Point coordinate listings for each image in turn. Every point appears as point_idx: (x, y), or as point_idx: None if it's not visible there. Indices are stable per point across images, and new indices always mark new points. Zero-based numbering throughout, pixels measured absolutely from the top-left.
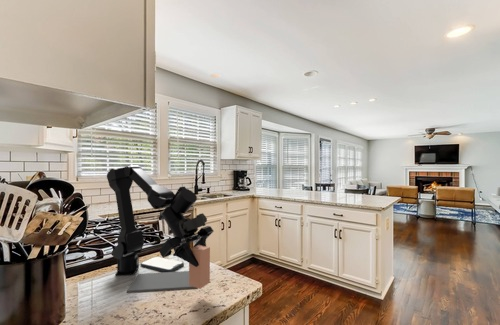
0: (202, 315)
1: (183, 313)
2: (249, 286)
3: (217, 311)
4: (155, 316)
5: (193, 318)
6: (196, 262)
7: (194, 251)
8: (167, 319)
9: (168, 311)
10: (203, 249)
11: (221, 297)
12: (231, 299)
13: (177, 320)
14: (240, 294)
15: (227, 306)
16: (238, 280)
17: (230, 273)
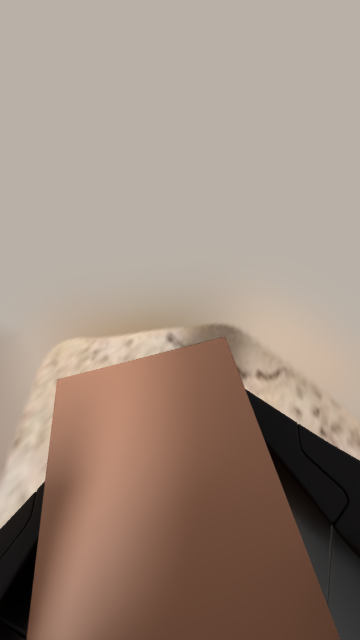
0: (228, 339)
1: (264, 379)
2: (68, 357)
3: (195, 329)
4: (343, 428)
5: (250, 344)
6: None
7: (259, 439)
8: (310, 386)
9: (299, 422)
10: (157, 367)
11: None
12: (141, 343)
13: (287, 364)
14: (111, 345)
15: (167, 329)
16: (49, 407)
17: (10, 478)
